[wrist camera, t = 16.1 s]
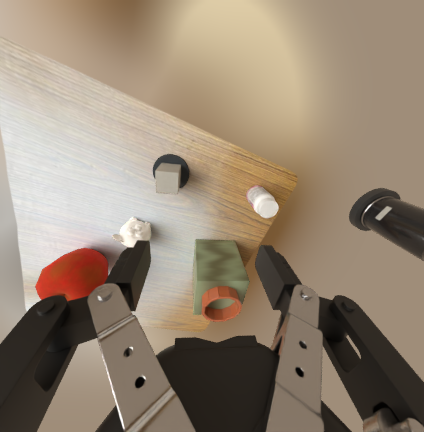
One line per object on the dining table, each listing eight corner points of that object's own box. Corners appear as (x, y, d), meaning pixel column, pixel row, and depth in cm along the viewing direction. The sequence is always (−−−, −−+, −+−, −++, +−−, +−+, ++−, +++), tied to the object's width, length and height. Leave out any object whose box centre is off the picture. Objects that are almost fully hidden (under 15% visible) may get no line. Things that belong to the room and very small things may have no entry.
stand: (234, 240, 47) (249, 281, 35) (228, 269, 52) (239, 313, 40) (195, 239, 46) (196, 281, 34) (192, 269, 51) (193, 315, 39)
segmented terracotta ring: (241, 285, 36) (245, 296, 33) (234, 310, 39) (237, 321, 37) (203, 286, 34) (203, 297, 32) (199, 311, 38) (200, 322, 36)
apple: (125, 249, 45) (101, 296, 33) (109, 277, 49) (81, 329, 37) (75, 229, 41) (24, 274, 28) (61, 261, 45) (12, 314, 33)
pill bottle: (241, 197, 41) (252, 213, 34) (254, 181, 40) (268, 194, 32) (256, 206, 43) (269, 223, 36) (268, 191, 41) (285, 205, 34)
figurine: (158, 224, 42) (152, 240, 37) (150, 243, 45) (144, 261, 39) (125, 213, 40) (114, 228, 34) (118, 233, 43) (107, 250, 37)
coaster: (190, 156, 36) (190, 156, 35) (188, 190, 39) (188, 191, 39) (152, 152, 34) (152, 152, 34) (154, 187, 38) (153, 188, 38)
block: (181, 164, 36) (178, 172, 30) (180, 182, 38) (178, 194, 32) (161, 162, 35) (155, 170, 29) (161, 181, 37) (155, 192, 31)
